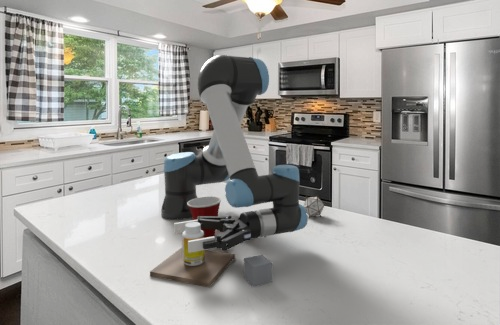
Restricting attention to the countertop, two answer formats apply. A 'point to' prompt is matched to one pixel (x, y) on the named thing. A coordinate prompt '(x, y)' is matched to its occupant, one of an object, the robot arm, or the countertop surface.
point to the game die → (313, 206)
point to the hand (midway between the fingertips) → (180, 237)
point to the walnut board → (193, 268)
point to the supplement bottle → (192, 233)
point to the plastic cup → (205, 210)
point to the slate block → (257, 270)
